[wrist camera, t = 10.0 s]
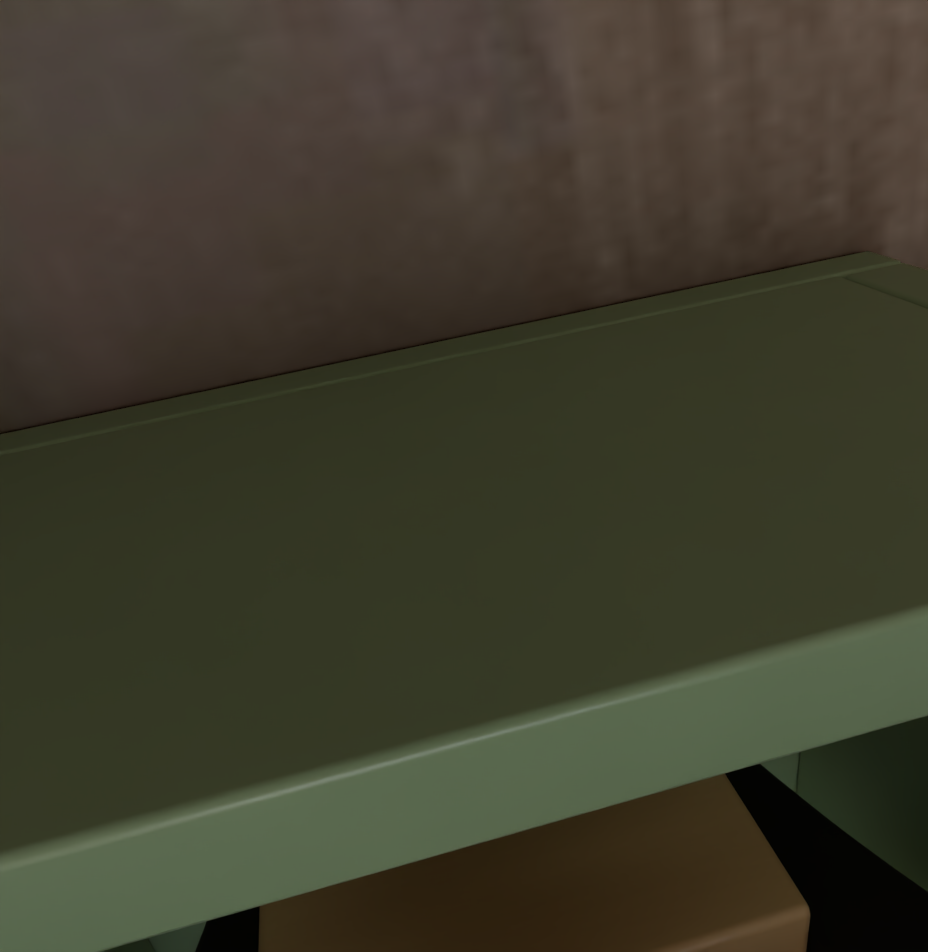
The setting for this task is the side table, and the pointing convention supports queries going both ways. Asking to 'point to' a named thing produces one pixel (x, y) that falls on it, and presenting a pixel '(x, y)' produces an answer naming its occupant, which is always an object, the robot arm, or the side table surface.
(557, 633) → the sage green bin
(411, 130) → the side table surface
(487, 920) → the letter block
